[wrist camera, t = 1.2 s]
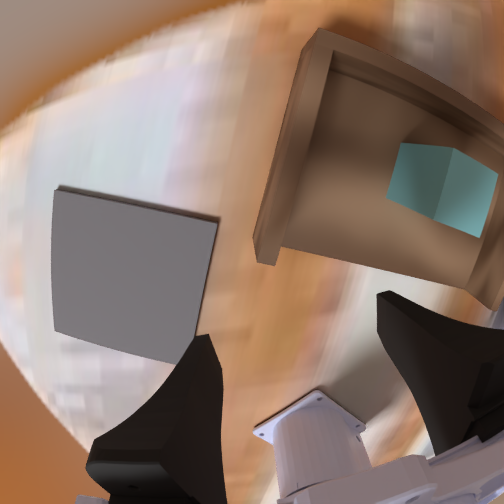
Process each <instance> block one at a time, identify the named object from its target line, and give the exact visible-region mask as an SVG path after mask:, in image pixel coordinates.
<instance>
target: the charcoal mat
mask: <svg viewBox="0 0 504 504" xmlns="http://www.w3.org/2000/svg"><path fill="white" fill-rule="evenodd" d="M217 224H218V222H214V221H209V220H204V219H200V218H195V217H191V216H186V215H181V214H177V213H172V212H167V211H163V210H158V209H153V208H148V207H143V206H139V205H134V204H129V203H124V202H119V201H114V200H109V199H104V198H99V197H94V196H89V195H84V194H79V193H74V192H69V191H64V190H58V189H56V190H54V199H53V213H52V235H51V282H52V303H53V317H54V329H55V331H56V332H59V333H62V334H65V335H68V336H71V337H74V338H77V339H81V340H84V341H87V342H90V343H94V344H97V345H100V346H104V347H107V348H111V349H114V350H118V351H122V352H126V353H129V354H133V355H137V356H141V357H145V358H149V359H153V360H158V361H162V362H166V363H171V364H175V365H177V364H178V362H179V360H180V359H181V357H182V356H183V354H184V353H185V351H186V349H187V348H188V346H189V344H190V343H191V341H192V340H193V338H194V334H195V329H196V324H197V319H198V314H199V309H200V304H201V299H202V294H203V289H204V284H205V279H206V274H207V270H208V265H209V260H210V256H211V251H212V246H213V242H214V237H215V233H216V228H217Z"/></svg>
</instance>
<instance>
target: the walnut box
mask: <svg viewBox="0 0 504 504" xmlns="http://www.w3.org/2000/svg"><path fill="white" fill-rule="evenodd" d="M401 143H411V144H423V145H433V146H443V147H451V148H455V149H457V150H459V151H460V152H462V153H464V154H466V155H467V156H469V157H471V158H473V159H474V160H476V161H478V162H480V163H481V164H483V165H485V166H486V167H488V168H489V169H491V170H493V171H494V172H496V173H497V174H498V178H497V182H496V186H495V189H494V193H493V197H492V200H491V204H490V207H489V211H488V214H487V217H486V220H485V223H484V227H483V230H482V233H481V235H480V238H478V237H476V236H473V235H471V234H468V233H466V232H463V231H461V230H458V229H456V228H453V227H451V226H448V225H445V224H443V223H440V222H438V221H435V220H432V219H430V218H428V217H426V216H424V215H422V214H420V213H418V212H416V211H413V210H411V209H409V208H407V207H405V206H403V205H400V204H398V203H396V202H394V201H391V200H389V199H387V198H386V195H387V191H388V188H389V185H390V181H391V178H392V174H393V171H394V167H395V163H396V160H397V156H398V152H399V148H400V144H401ZM253 243H254V248H255V254H256V260H257V262H258V263H263V264H267V265H272V266H275V265H276V261H277V258H278V255H279V251H280V248H281V247H286V248H290V249H295V250H299V251H303V252H308V253H312V254H317V255H321V256H325V257H330V258H334V259H338V260H343V261H347V262H351V263H356V264H360V265H364V266H369V267H373V268H377V269H381V270H386V271H390V272H394V273H398V274H403V275H407V276H411V277H415V278H419V279H424V280H428V281H432V282H436V283H440V284H444V285H448V286H453V287H457V288H461V289H465V290H466V291H467V292H468V293H470V294H471V295H472V296H473V297H475V298H476V299H477V300H478V301H480V302H481V303H482V304H483V305H485V306H486V307H487V308H488V309H489V310H492V311H497V310H498V308H499V305H500V303H501V301H502V299H503V297H504V124H503V123H502V122H500V121H499V120H498V119H496V118H495V117H494V116H492V115H491V114H489V113H488V112H487V111H485V110H484V109H482V108H481V107H479V106H478V105H476V104H475V103H473V102H472V101H470V100H469V99H467V98H466V97H464V96H463V95H461V94H460V93H458V92H456V91H455V90H453V89H451V88H450V87H448V86H446V85H445V84H443V83H441V82H440V81H438V80H436V79H434V78H433V77H431V76H429V75H427V74H425V73H423V72H422V71H420V70H418V69H416V68H414V67H412V66H410V65H408V64H406V63H404V62H402V61H400V60H398V59H396V58H394V57H392V56H389V55H387V54H385V53H383V52H381V51H378V50H376V49H374V48H371V47H369V46H367V45H364V44H362V43H359V42H357V41H354V40H352V39H349V38H347V37H344V36H341V35H339V34H336V33H333V32H330V31H327V30H324V29H321V28H318V29H317V31H316V32H315V33H314V35H313V36H312V37H311V38H310V40H309V41H308V42H307V44H306V45H305V46H304V47H303V49H302V51H301V55H300V58H299V62H298V66H297V70H296V73H295V77H294V81H293V85H292V89H291V92H290V96H289V100H288V104H287V108H286V111H285V115H284V119H283V123H282V127H281V130H280V134H279V138H278V142H277V146H276V150H275V153H274V157H273V161H272V165H271V169H270V173H269V176H268V180H267V184H266V188H265V192H264V196H263V199H262V203H261V207H260V211H259V215H258V219H257V222H256V226H255V230H254V234H253Z"/></svg>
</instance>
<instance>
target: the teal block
mask: <svg viewBox="0 0 504 504" xmlns="http://www.w3.org/2000/svg"><path fill="white" fill-rule="evenodd" d="M497 178H498V174H497V173H496V172H494V171H493V170H491V169H489V168H488V167H486V166H485V165H483V164H481V163H480V162H478V161H476V160H474V159H473V158H471V157H469V156H467V155H466V154H464V153H462V152H460V151H459V150H457V149H455V148H451V147H443V146H433V145H423V144H411V143H401V144H400V148H399V152H398V156H397V160H396V163H395V167H394V171H393V174H392V178H391V181H390V185H389V188H388V191H387V195H386V198H387V199H389V200H391V201H394V202H396V203H398V204H400V205H403V206H405V207H407V208H409V209H411V210H413V211H416V212H418V213H420V214H422V215H424V216H426V217H428V218H430V219H432V220H435V221H438V222H440V223H443V224H445V225H448V226H451V227H453V228H456V229H458V230H461V231H463V232H466V233H468V234H471V235H473V236H476V237H478V238H480V235H481V233H482V230H483V227H484V223H485V220H486V217H487V214H488V211H489V207H490V204H491V200H492V197H493V193H494V189H495V186H496V182H497Z"/></svg>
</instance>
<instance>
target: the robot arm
mask: <svg viewBox="0 0 504 504" xmlns="http://www.w3.org/2000/svg"><path fill="white" fill-rule="evenodd" d="M377 332H378V335H379V337H380V339H381V341H382V344H383V346H384V348H385V350H386V352H387V353H388V355H389V356H390V358H391V359H392V361H393V363H394V364H395V366H396V367H397V369H398V370H399V372H400V374H401V375H402V377H403V378H404V380H405V382H406V383H407V385H408V387H409V388H410V390H411V392H412V394H413V396H414V399H415V401H416V403H417V405H418V408H419V410H420V412H421V415H422V417H423V420H424V422H425V425H426V428H427V431H428V434H429V437H430V439H431V442H432V446H433V449H434V453H435V457H433V458H431V459H428V460H426V457H425V456H422V455H409V456H406V457H402V458H398V459H396V460H393V461H390V462H388V463H385V464H382V465H379V466H376V467H373V468H372V465H371V463H370V460H369V457H368V455H367V452H366V449H365V447H364V444H363V441H362V439H361V436H360V433H361V432H363V431H364V430H365V429H366V425H365V424H364V423H362V422H361V421H360V420H358V419H357V418H356V417H354V416H353V415H351V414H350V413H349V412H347V411H346V410H345V409H343V408H342V407H341V406H339V405H338V404H337V403H335V402H334V401H333V400H331V399H330V398H329V397H328V396H326V395H325V394H324V393H322V392H321V391H319V390H315V391H313V392H311V393H310V394H308V395H307V396H305V397H304V398H302V399H301V400H299V401H298V402H296V403H295V404H293V405H292V406H290V407H288V408H287V409H285V410H284V411H282V412H281V413H279V414H277V415H276V416H274V417H272V418H271V419H269V420H267V421H266V422H264V423H262V424H261V425H259V426H257V427H256V428H254V429H253V434H254V435H256V436H258V437H260V438H261V439H263V440H265V441H267V442H269V443H271V444H272V445H273V446H274V453H275V461H276V469H277V477H278V484H279V492H280V499H278V500H277V504H488V503H489V502H491V501H492V500H494V499H495V498H496V497H498V496H499V495H501V494H502V493H503V492H504V330H501V329H492V328H485V327H480V326H475V325H471V324H467V323H463V322H460V321H457V320H454V319H451V318H448V317H445V316H443V315H440V314H438V313H435V312H433V311H431V310H429V309H426V308H424V307H422V306H420V305H418V304H416V303H414V302H412V301H410V300H408V299H406V298H404V297H402V296H400V295H399V294H397V293H394V292H392V291H390V290H388V291H385V292H381V293H378V294H377ZM319 397H320V398H319ZM222 406H223V375H222V368H221V365H220V362H219V360H218V357H217V355H216V352H215V349H214V347H213V344H212V342H211V339H210V336H209V334H205V335H199V336H195V337H194V338H193V340H192V341H191V343H190V344H189V346H188V348H187V349H186V351H185V353H184V354H183V356H182V357H181V359H180V360H179V362H178V364H177V365H176V367H175V368H174V370H173V371H172V372H171V374H170V375H169V376H168V378H167V379H166V380H165V382H164V383H163V384H162V386H161V387H160V388H159V389H158V390H157V391H156V392H155V394H154V395H153V396H152V397H151V398H150V399H149V400H148V401H147V402H146V403H145V404H144V405H142V406H141V407H140V408H139V409H138V410H137V411H136V412H135V413H134V414H132V415H131V416H130V417H129V418H127V419H126V420H125V421H123V422H122V423H121V424H119V425H118V426H116V427H115V428H113V429H112V430H110V431H108V432H107V433H105V434H103V435H101V436H100V437H98V438H96V439H94V441H93V444H92V447H91V450H90V453H89V457H88V460H87V463H86V471H87V473H88V474H89V476H90V477H91V478H92V479H93V480H94V481H95V482H96V483H98V484H99V485H100V486H101V487H102V488H104V489H105V490H106V491H107V492H108V493H110V499H109V501H107V500H105V499H103V498H98V497H91V496H85V495H77V498H76V502H75V504H227V498H226V491H225V482H224V474H223V463H222V450H221V422H222Z"/></svg>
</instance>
